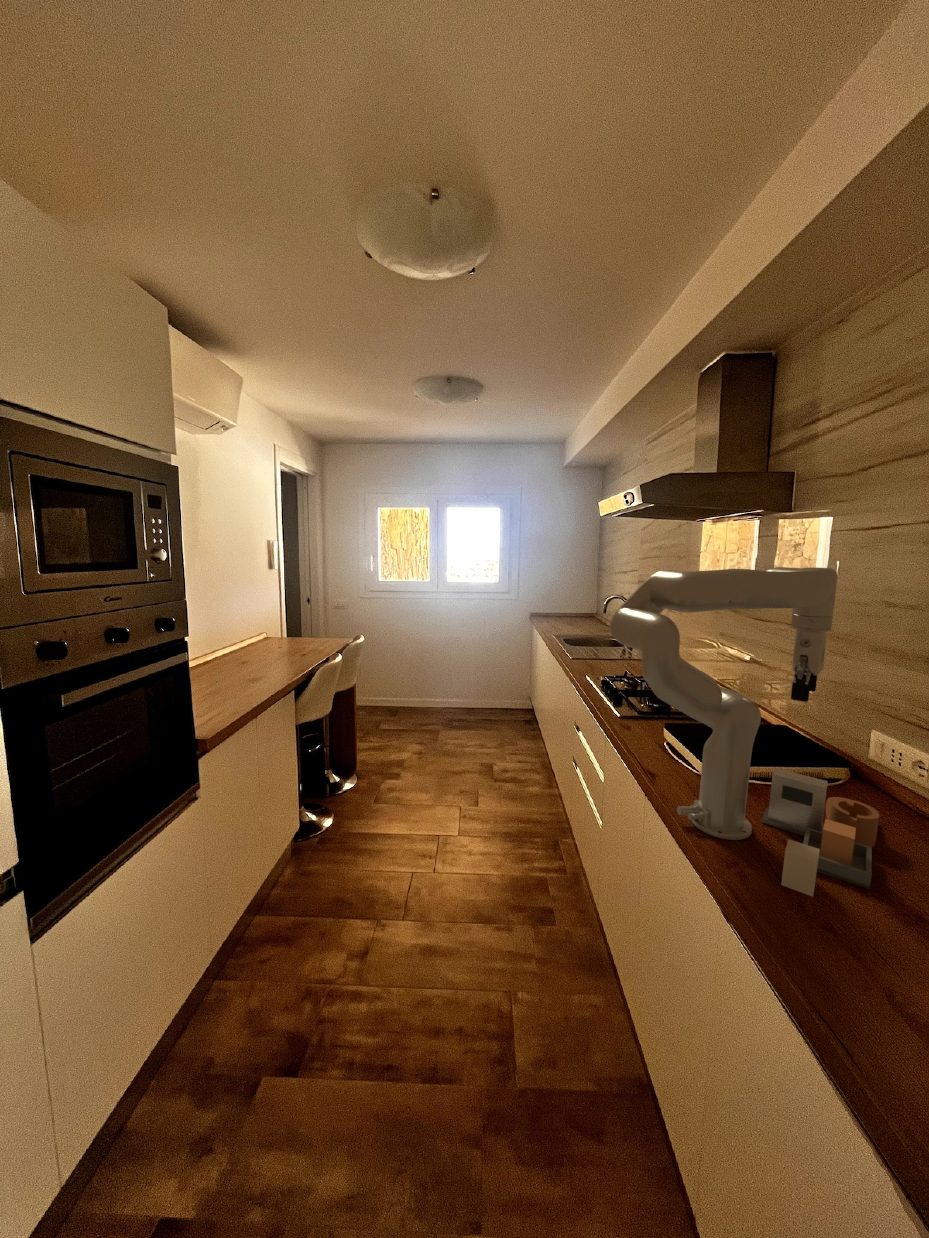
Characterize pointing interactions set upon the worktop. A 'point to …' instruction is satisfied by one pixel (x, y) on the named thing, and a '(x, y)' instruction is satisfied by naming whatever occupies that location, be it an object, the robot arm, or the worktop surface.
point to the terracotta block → (837, 842)
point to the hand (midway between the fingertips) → (803, 695)
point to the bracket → (854, 818)
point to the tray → (853, 874)
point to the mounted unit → (796, 802)
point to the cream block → (800, 867)
